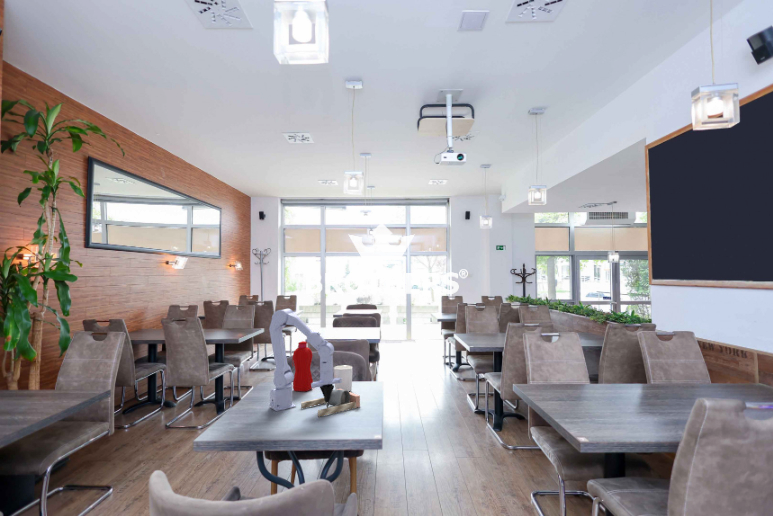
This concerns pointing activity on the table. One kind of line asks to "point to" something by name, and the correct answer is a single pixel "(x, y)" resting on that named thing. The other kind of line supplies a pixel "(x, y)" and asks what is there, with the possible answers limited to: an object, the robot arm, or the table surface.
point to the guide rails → (327, 410)
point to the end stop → (354, 398)
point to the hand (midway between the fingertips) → (326, 401)
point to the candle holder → (343, 377)
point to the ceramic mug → (338, 398)
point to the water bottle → (302, 367)
